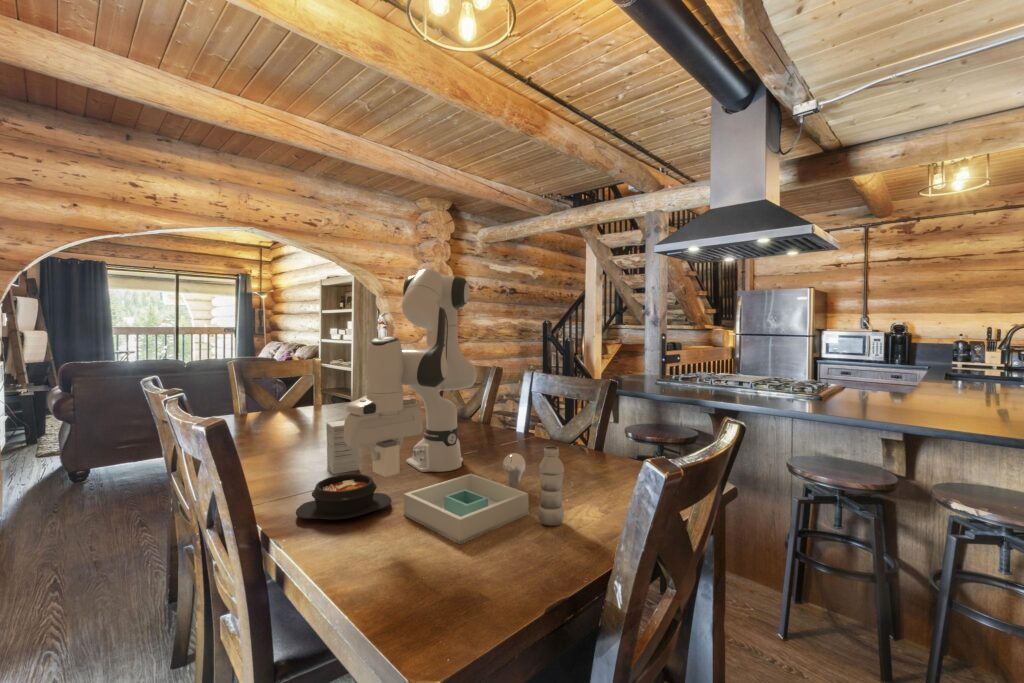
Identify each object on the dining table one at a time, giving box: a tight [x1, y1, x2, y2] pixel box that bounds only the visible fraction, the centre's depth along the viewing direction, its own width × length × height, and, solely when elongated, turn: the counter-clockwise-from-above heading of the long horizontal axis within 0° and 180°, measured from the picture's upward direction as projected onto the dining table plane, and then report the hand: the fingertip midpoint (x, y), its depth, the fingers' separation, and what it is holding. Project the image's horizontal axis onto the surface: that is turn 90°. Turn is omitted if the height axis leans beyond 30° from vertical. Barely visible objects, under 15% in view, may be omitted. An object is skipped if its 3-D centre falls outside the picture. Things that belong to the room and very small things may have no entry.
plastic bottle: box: [537, 445, 565, 527], centre depth 120 cm, size 6×7×20 cm
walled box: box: [403, 473, 529, 545], centre depth 126 cm, size 24×24×6 cm
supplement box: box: [325, 419, 360, 475], centre depth 166 cm, size 10×9×17 cm
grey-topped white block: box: [371, 439, 400, 478], centre depth 114 cm, size 6×4×8 cm, turn 46°
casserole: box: [295, 473, 392, 521], centre depth 128 cm, size 25×19×8 cm
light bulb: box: [502, 452, 526, 490], centre depth 143 cm, size 7×7×12 cm
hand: (385, 457), depth 114 cm, fingers closed on grey-topped white block, 4 cm apart
